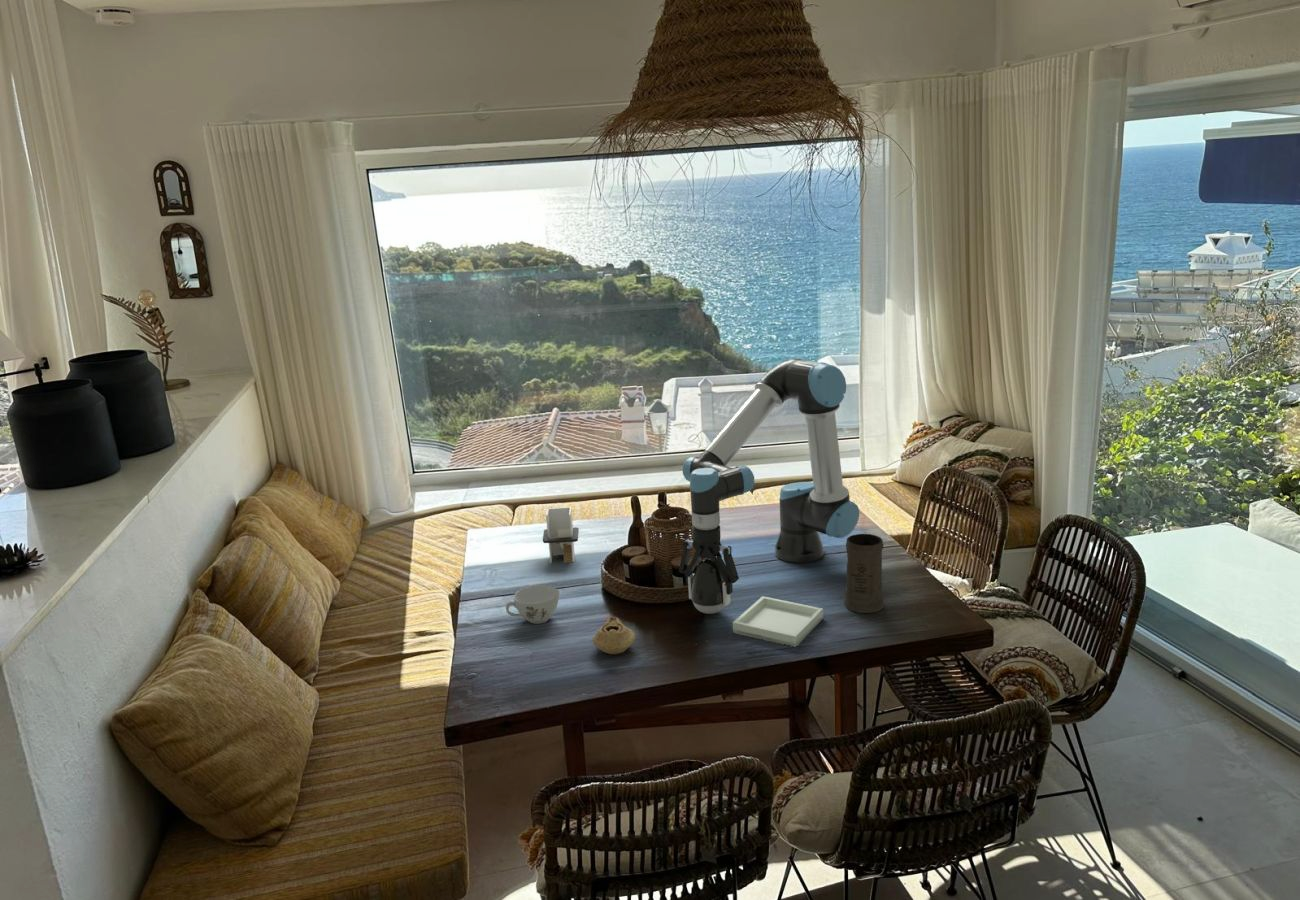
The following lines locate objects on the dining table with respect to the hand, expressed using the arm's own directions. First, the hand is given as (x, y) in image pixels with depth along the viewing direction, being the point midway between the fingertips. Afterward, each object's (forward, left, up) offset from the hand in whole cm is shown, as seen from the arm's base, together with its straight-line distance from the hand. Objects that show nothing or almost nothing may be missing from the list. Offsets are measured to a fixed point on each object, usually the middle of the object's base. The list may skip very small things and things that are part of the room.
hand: (709, 600), depth 260 cm
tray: (-2, +20, -4) cm, 20 cm away
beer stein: (-26, +35, -4) cm, 44 cm away
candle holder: (-14, -62, -4) cm, 64 cm away
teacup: (+25, -42, -4) cm, 49 cm away
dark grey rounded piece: (0, 0, -3) cm, 3 cm away
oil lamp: (+28, -13, -4) cm, 31 cm away
